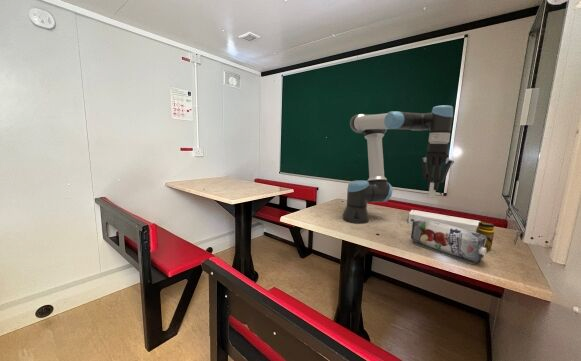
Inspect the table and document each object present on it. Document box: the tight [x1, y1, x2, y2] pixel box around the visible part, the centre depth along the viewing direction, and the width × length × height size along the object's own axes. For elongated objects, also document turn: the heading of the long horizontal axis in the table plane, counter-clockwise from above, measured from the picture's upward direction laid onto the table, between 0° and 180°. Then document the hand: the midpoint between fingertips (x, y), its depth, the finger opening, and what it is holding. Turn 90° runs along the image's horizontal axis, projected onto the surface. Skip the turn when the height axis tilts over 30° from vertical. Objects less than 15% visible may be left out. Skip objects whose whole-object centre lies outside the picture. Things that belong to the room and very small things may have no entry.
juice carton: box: [410, 219, 487, 263], centre depth 99 cm, size 9×10×27 cm
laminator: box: [407, 209, 482, 232], centre depth 131 cm, size 34×12×6 cm, turn 55°
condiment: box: [476, 221, 495, 254], centre depth 104 cm, size 7×8×12 cm
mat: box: [414, 241, 477, 266], centre depth 101 cm, size 22×12×1 cm, turn 35°
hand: (431, 196), depth 103 cm, fingers closed
